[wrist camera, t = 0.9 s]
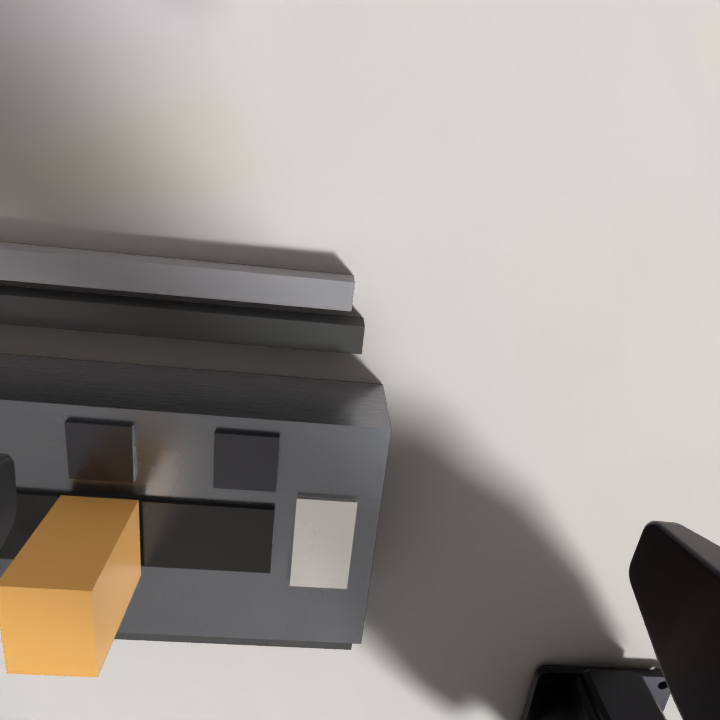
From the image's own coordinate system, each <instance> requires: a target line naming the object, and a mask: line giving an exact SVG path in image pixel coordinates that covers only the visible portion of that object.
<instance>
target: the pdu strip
mask: <svg viewBox="0 0 720 720" xmlns="http://www.w3.org/2000/svg"><path fill="white" fill-rule="evenodd" d="M390 435H391V425H390V419H389V414H388V409H387V404H386V399H385V394H384V388H383V384H371V383H359V382H346V381H334V380H322V379H309V378H297V377H284V376H272V375H260V374H247V373H235V372H222V371H210V370H197V369H185V368H173V367H160V366H148V365H135V364H123V363H111V362H98V361H86V360H73V359H61V358H49V357H36V356H24V355H11V354H0V453H3V454H8V455H9V456H10V457H11V458H12V459H13V462H14V466H15V480H16V494H17V513H16V518H15V521H14V523H13V526H12V528H11V530H10V531H9V533H8V535H7V537H6V539H5V541H4V543H3V545H2V547H1V549H0V578H1V576H2V575H3V574H4V572H5V571H6V569H7V568H8V567H9V565H10V564H11V563H12V561H13V560H14V559H15V557H16V556H17V554H18V553H19V552H20V550H21V549H22V548H23V546H24V545H25V543H26V542H27V541H28V539H29V538H30V537H31V535H32V534H33V533H34V531H35V530H36V528H37V527H38V526H39V524H40V523H41V522H42V520H43V519H44V518H45V516H46V515H47V513H48V512H49V511H50V509H51V508H52V507H53V505H54V504H55V503H56V501H57V500H58V498H59V497H60V496H61V495H65V496H81V497H97V498H113V499H128V500H139V528H140V559H141V576H140V579H139V581H138V584H137V586H136V588H135V591H134V593H133V595H132V598H131V600H130V602H129V605H128V607H127V609H126V612H125V614H124V617H123V619H122V621H121V624H120V626H119V628H118V631H117V633H139V634H161V635H182V636H204V637H226V638H247V639H269V640H291V641H313V642H334V643H356V644H361V641H362V634H363V627H364V620H365V613H366V605H367V598H368V591H369V584H370V577H371V570H372V563H373V556H374V549H375V542H376V534H377V527H378V520H379V513H380V506H381V499H382V492H383V485H384V478H385V471H386V463H387V456H388V449H389V442H390Z"/></svg>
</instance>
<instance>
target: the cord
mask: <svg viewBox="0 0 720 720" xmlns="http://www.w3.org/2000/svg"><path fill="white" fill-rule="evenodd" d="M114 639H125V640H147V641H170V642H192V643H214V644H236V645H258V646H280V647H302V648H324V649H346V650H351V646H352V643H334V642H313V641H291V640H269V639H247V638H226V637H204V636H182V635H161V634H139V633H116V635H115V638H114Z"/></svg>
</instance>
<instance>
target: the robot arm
mask: <svg viewBox="0 0 720 720" xmlns="http://www.w3.org/2000/svg"><path fill="white" fill-rule="evenodd" d="M16 513H17V494H16V480H15V466H14V462H13V459H12V458H11V457H10V456H9V455H8V454H3V453H0V549H1V547H2V545H3V543H4V541H5V539H6V537H7V535H8V533H9V531H10V530H11V528H12V526H13V523H14V521H15V518H16ZM629 578H630V583H631V586H632V589H633V592H634V594H635V597H636V600H637V603H638V606H639V609H640V611H641V614H642V617H643V620H644V623H645V626H646V629H647V631H648V634H649V637H650V640H651V643H652V646H653V648H654V651H655V654H656V657H657V660H658V663H659V665H660V668H661V670H648V669H625V668H603V667H580V666H558V665H544V666H541V667H539V668H538V669H537V670H536V672H535V674H534V678H533V681H532V685H531V688H530V692H529V695H528V699H527V702H526V706H525V709H524V713H523V716H522V720H667V719H666V718H665V716H664V714H663V710H664V708H665V705H666V703H667V701H668V698H669V696H670V693H671V695H672V697H673V699H674V702H675V704H676V706H677V708H678V710H679V712H680V715H681V717H682V719H683V720H720V546H718V545H716V544H715V543H713V542H711V541H709V540H707V539H706V538H704V537H702V536H700V535H699V534H697V533H695V532H693V531H691V530H690V529H688V528H686V527H684V526H683V525H680V524H678V523H673V522H663V521H651V522H649V523H648V524H647V525H646V526H645V527H644V529H643V532H642V534H641V537H640V540H639V542H638V545H637V547H636V550H635V553H634V555H633V558H632V561H631V563H630V568H629Z"/></svg>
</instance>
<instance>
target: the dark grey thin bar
mask: <svg viewBox="0 0 720 720" xmlns="http://www.w3.org/2000/svg"><path fill="white" fill-rule="evenodd" d="M0 280H8V281H19V282H30V283H41V284H52V285H64V286H75V287H86V288H97V289H108V290H119V291H130V292H141V293H153V294H164V295H175V296H186V297H197V298H208V299H219V300H230V301H241V302H253V303H264V304H275V305H286V306H297V307H308V308H319V309H330V310H342V311H352V302H353V292H354V283H355V282H354V275H345V274H334V273H324V272H313V271H303V270H292V269H282V268H271V267H260V266H250V265H239V264H229V263H218V262H208V261H197V260H186V259H176V258H165V257H155V256H144V255H134V254H123V253H113V252H102V251H91V250H81V249H70V248H60V247H49V246H39V245H28V244H18V243H7V242H0ZM0 324H10V325H22V326H33V327H45V328H57V329H69V330H81V331H93V332H104V333H116V334H128V335H140V336H152V337H164V338H176V339H187V340H199V341H211V342H223V343H235V344H247V345H259V346H270V347H282V348H294V349H306V350H318V351H330V352H341V353H353V354H362V346H363V337H364V328H365V326H364V320H363V318H358V317H347V316H336V315H325V314H313V313H302V312H291V311H280V310H268V309H257V308H246V307H235V306H224V305H212V304H201V303H190V302H179V301H168V300H156V299H145V298H134V297H123V296H112V295H100V294H89V293H78V292H67V291H55V290H44V289H33V288H22V287H11V286H0Z"/></svg>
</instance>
